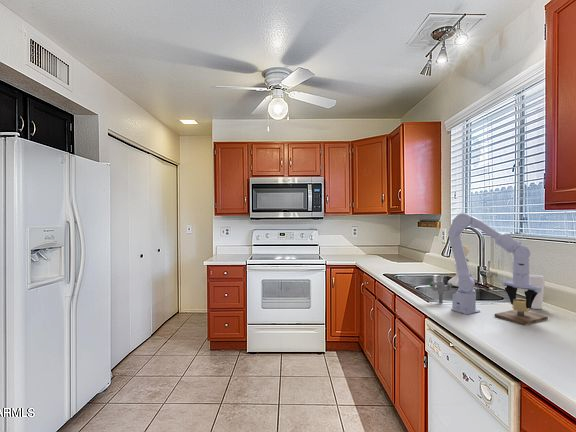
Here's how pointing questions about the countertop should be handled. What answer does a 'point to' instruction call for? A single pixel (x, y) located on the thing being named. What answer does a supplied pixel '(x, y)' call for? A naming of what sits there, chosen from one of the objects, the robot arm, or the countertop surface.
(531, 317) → the hub board
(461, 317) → the countertop surface
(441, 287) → the mechanical component
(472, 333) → the countertop surface
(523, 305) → the brass collar
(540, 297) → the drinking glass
